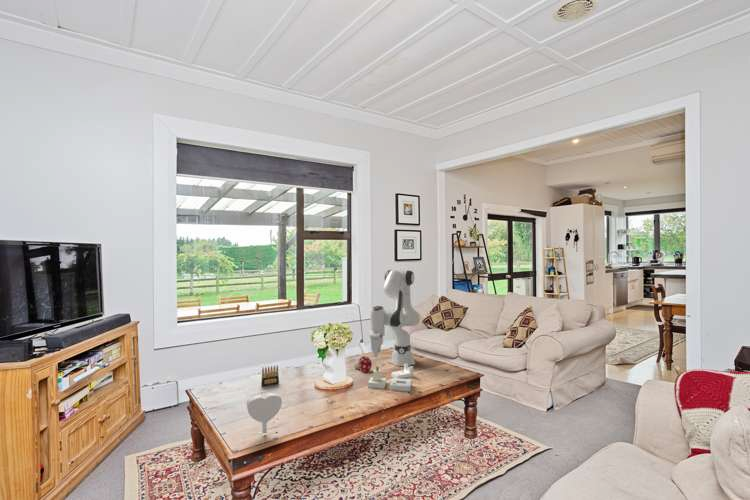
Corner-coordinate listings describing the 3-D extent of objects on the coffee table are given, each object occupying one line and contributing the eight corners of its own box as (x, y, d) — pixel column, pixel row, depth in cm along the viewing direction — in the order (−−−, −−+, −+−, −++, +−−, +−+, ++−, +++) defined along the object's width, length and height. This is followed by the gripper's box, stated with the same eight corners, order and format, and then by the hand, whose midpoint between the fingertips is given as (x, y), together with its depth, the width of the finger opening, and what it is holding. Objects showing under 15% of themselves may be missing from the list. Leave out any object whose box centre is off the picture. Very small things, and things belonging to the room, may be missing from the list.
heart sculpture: (279, 427, 184) (279, 390, 184) (282, 432, 179) (282, 394, 179) (246, 434, 177) (246, 396, 177) (248, 439, 173) (247, 400, 172)
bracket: (407, 374, 259) (407, 363, 259) (413, 377, 253) (413, 366, 253) (391, 377, 252) (391, 366, 252) (397, 381, 246) (397, 369, 246)
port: (392, 384, 240) (392, 377, 240) (411, 385, 238) (411, 378, 238) (389, 391, 229) (390, 383, 229) (409, 393, 226) (409, 385, 226)
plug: (373, 383, 238) (373, 365, 238) (381, 384, 237) (381, 366, 237) (372, 385, 235) (372, 367, 235) (380, 386, 234) (380, 368, 234)
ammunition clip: (261, 386, 235) (261, 367, 235) (261, 385, 237) (261, 366, 237) (279, 383, 240) (279, 365, 240) (278, 382, 242) (278, 364, 242)
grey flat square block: (371, 383, 242) (371, 376, 242) (386, 384, 240) (386, 378, 240) (367, 388, 232) (367, 382, 232) (383, 390, 230) (383, 383, 230)
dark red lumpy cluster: (351, 355, 272) (364, 352, 262) (362, 361, 277) (376, 358, 266) (347, 370, 265) (360, 368, 255) (359, 376, 270) (372, 374, 260)
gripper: (375, 328, 246) (375, 349, 247) (369, 336, 226) (369, 359, 227) (385, 329, 245) (385, 350, 245) (379, 336, 225) (379, 359, 225)
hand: (377, 354), depth 236 cm, fingers open, 8 cm apart
